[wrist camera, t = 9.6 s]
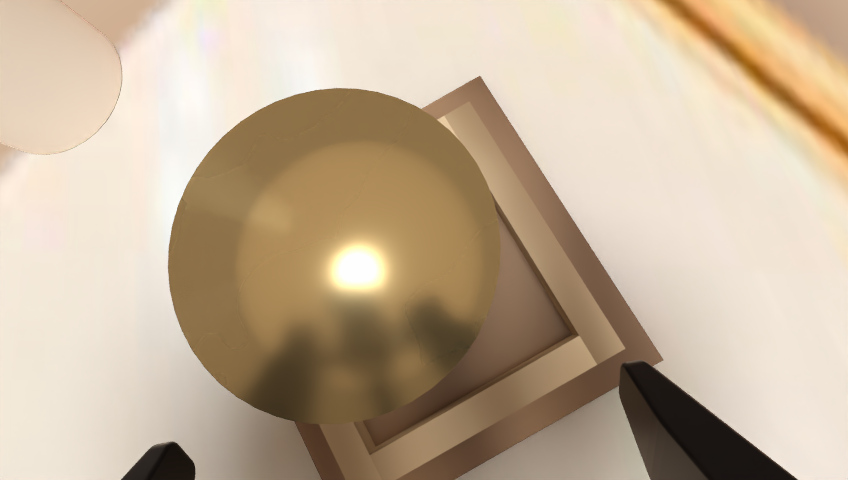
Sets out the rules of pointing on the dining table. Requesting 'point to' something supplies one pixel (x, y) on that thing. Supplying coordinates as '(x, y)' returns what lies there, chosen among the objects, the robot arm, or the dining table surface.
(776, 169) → the dining table surface
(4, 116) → the cylindrical container
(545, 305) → the socket board
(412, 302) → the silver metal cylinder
